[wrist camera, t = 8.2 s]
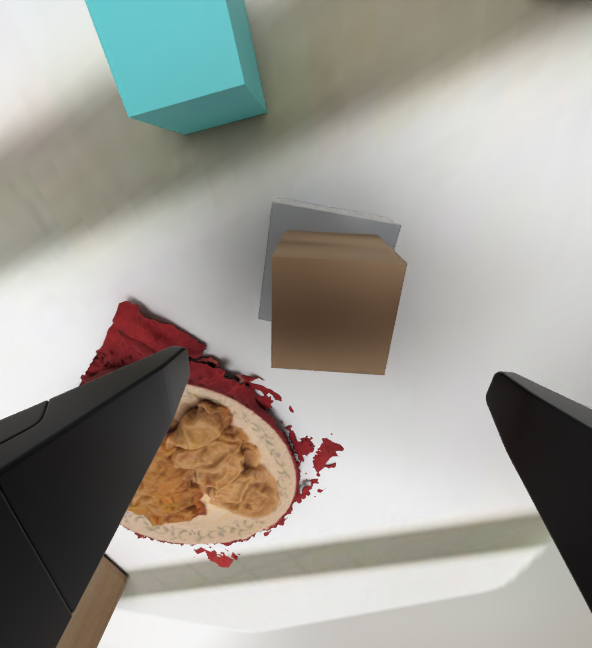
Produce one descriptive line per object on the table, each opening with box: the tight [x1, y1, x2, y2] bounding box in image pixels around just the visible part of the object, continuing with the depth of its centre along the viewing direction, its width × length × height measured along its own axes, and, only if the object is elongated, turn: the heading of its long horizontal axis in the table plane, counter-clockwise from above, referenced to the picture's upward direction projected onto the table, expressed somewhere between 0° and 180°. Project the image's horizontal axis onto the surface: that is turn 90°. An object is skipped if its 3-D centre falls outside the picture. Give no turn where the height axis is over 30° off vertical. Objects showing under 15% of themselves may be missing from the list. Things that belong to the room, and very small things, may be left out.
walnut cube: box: [271, 230, 407, 375], centre depth 15 cm, size 5×5×6 cm
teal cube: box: [85, 0, 267, 135], centre depth 14 cm, size 5×5×6 cm
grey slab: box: [258, 198, 401, 321], centre depth 19 cm, size 7×7×4 cm
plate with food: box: [79, 301, 344, 567], centre depth 29 cm, size 25×26×4 cm
